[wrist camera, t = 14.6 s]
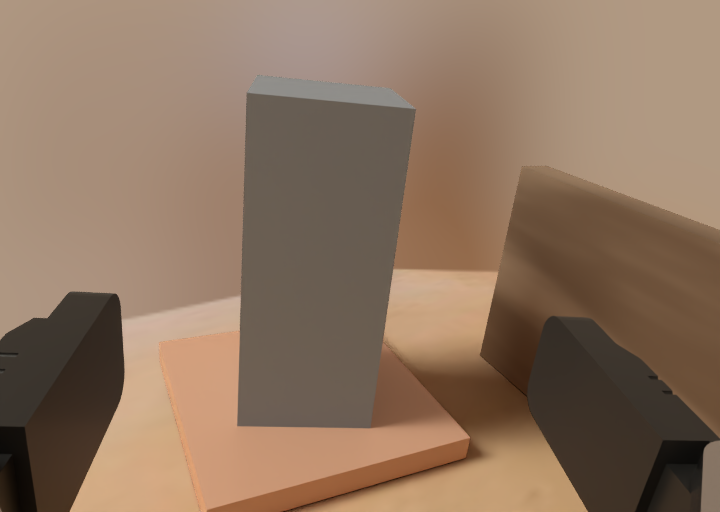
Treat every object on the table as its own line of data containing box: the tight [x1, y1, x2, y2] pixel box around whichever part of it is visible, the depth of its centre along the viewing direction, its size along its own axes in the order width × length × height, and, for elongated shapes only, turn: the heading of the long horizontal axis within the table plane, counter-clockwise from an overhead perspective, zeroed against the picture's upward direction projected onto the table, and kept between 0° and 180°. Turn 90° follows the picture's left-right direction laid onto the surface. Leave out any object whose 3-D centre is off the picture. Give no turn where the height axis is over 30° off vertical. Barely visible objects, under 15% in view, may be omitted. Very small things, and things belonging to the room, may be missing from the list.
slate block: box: [237, 75, 416, 428], centre depth 21 cm, size 5×5×12 cm
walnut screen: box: [480, 166, 720, 438], centre depth 21 cm, size 2×16×10 cm, turn 26°
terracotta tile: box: [159, 331, 470, 512], centre depth 24 cm, size 10×10×1 cm
